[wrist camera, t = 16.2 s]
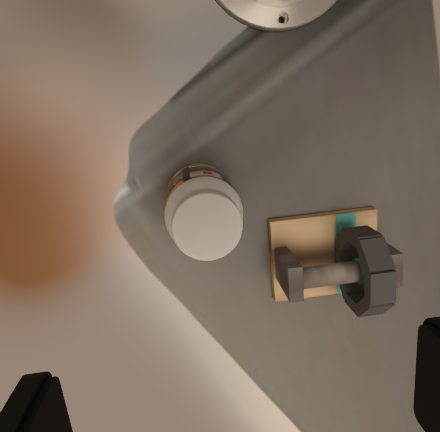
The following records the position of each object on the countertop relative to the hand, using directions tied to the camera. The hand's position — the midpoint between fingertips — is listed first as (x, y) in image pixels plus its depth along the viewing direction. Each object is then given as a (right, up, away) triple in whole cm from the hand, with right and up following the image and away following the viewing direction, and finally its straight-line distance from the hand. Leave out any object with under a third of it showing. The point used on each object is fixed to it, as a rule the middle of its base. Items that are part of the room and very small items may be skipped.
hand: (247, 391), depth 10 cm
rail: (+9, +1, +27) cm, 28 cm away
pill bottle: (-3, +7, +24) cm, 25 cm away
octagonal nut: (+11, +1, +26) cm, 28 cm away
